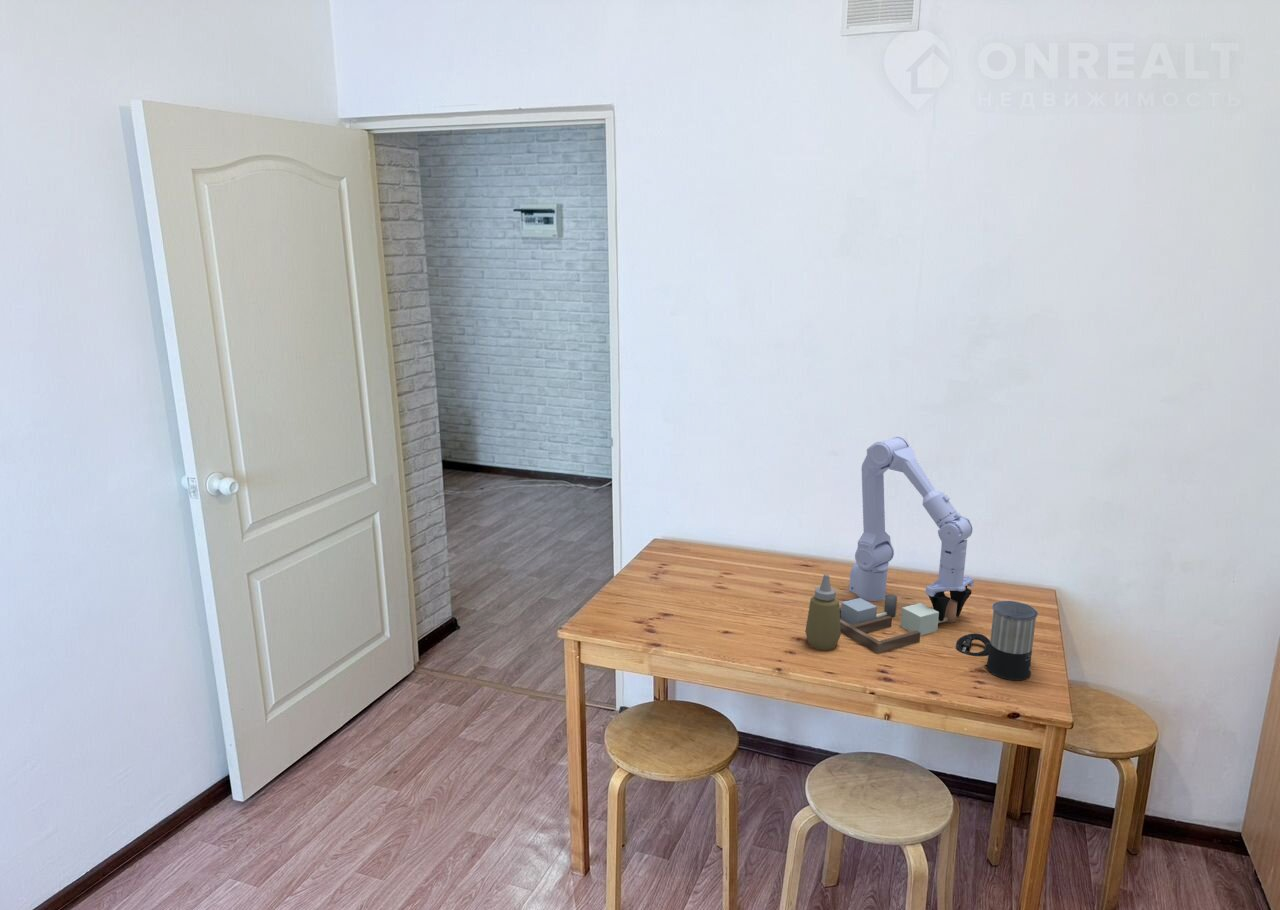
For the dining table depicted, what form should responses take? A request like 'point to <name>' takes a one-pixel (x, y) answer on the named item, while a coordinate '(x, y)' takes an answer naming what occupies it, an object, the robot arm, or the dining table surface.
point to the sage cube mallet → (926, 617)
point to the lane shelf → (861, 629)
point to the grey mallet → (866, 610)
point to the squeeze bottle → (823, 617)
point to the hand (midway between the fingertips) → (947, 617)
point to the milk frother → (1006, 640)
